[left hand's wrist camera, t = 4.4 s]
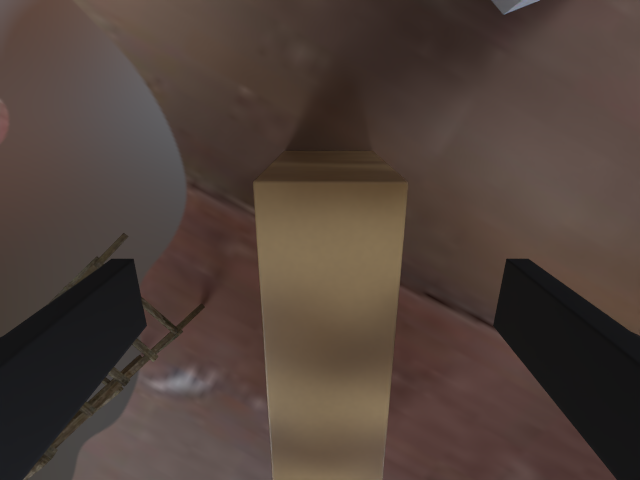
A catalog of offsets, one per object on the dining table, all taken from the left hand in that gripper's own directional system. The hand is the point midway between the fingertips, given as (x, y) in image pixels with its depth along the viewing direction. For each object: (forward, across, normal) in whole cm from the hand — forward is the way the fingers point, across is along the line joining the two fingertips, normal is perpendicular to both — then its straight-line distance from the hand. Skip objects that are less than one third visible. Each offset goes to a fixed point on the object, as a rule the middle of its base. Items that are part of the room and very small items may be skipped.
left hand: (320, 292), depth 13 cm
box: (+13, +1, -9) cm, 16 cm away
